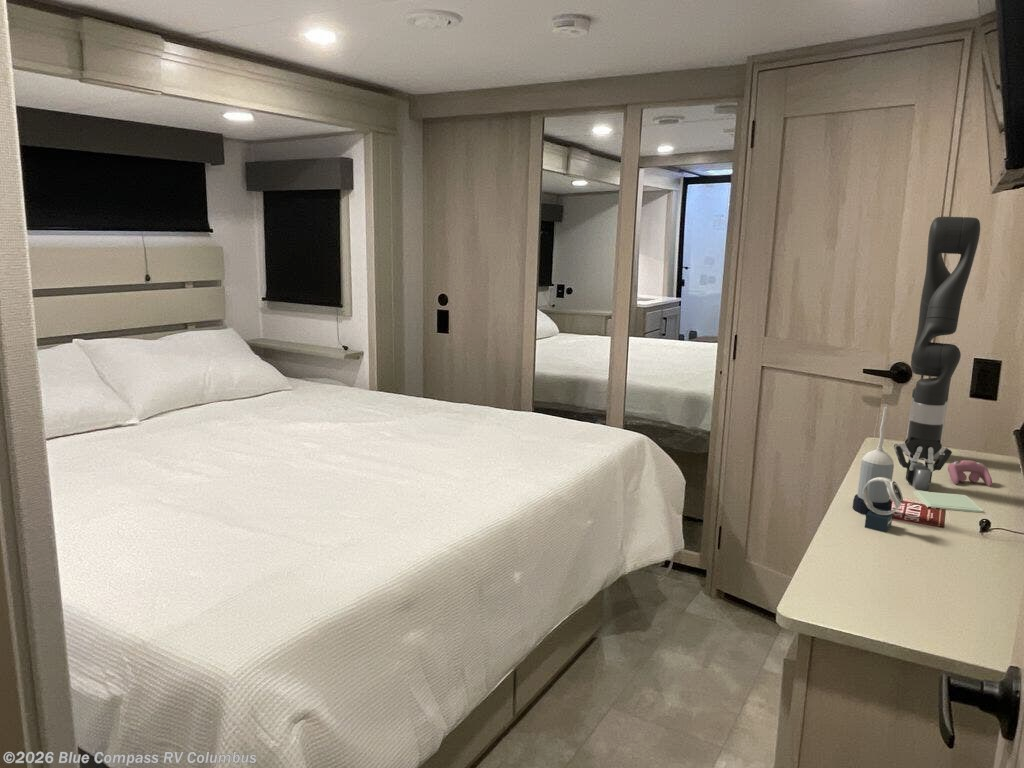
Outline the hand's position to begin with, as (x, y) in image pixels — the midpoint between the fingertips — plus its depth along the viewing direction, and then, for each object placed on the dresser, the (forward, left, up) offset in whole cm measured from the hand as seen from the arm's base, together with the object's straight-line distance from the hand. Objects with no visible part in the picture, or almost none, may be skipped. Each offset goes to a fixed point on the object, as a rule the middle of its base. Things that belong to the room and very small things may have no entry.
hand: (917, 483), depth 193 cm
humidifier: (+24, -17, -1) cm, 29 cm away
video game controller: (-6, +14, -1) cm, 15 cm away
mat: (+12, +3, 0) cm, 13 cm away
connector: (-1, 0, 0) cm, 1 cm away
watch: (+34, -18, -1) cm, 38 cm away
